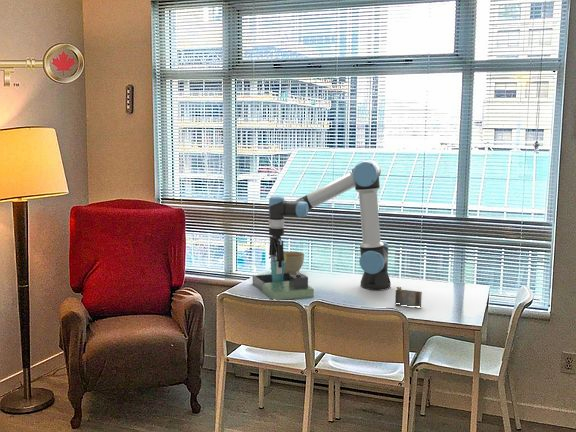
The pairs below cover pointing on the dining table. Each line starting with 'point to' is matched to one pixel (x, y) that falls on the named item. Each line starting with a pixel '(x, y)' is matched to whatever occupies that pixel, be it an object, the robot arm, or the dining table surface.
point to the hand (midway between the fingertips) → (276, 271)
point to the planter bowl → (293, 262)
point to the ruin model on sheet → (408, 297)
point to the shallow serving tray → (284, 286)
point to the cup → (276, 276)
